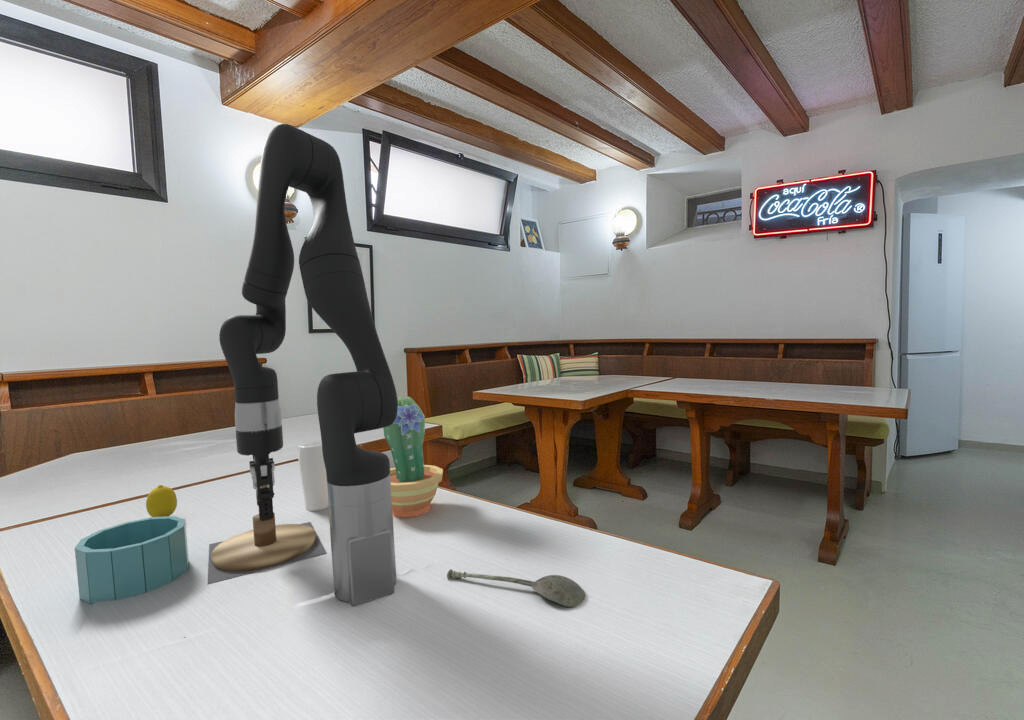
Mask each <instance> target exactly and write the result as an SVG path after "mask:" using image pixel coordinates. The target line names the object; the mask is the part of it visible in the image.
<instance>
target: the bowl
mask: <svg viewBox="0 0 1024 720" xmlns="http://www.w3.org/2000/svg"><path fill="white" fill-rule="evenodd" d="M186 524H187V523H186V518H183V517H178V516H175V515H170V516H166V517H151V516H150V517H147V518H145V517H144V518H141V519H135V520H129V521H124V522H122V523H119V524H116V525H113V526H110V527H106V528H102V529H99V530H97V531H95V532H93V533H91V534H89V535H87V536H85V537H84V538H80V540H79V541H78V542H77V544H76V545H75V546H74V554H75V564H76V575H77V584H78V596H79V599H80V600H81V601H83V602H85V603H88V604H90V605H94V604H95V602H103V601H104V602H105V601H107V602H108V601H115V600H117V601H118V600H121V599H125V598H129V597H133V596H137V595H142V594H146V593H148V592H150V591H153V590H155V589H157V588H159V587H161V586H162V587H163V586H164V585H167V584H170V583H171V582H173V581H174V580H176V579H177V578H179V577H180V576H181V575H182V574H184V573H185V572H187V571H188V569H189V563H190V562H189V560H190V558H189V549H188V536H187V527H186V526H187V525H186Z"/></svg>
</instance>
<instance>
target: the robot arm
mask: <svg viewBox="0 0 1024 720" xmlns="http://www.w3.org/2000/svg"><path fill="white" fill-rule="evenodd" d="M259 167H260V168H259V175H258V177H259V178H258V179H259V180H258V189H257V198H256V199H257V200H256V211H255V225H254V226H255V227H254V235H253V239H252V240H253V241H252V246H251V251H250V256H249V258H248V263H247V266H246V271H245V275H244V279H243V283H242V287H241V295H242V297H243V298H244V300H245V301H247V302H249V303H251V304H254V305H256V306H255V308H256V309H255V310H256V312H255V315H254V314H253V315H252V314H251V315H249V314H238V315H237V314H236V315H235V314H234V315H232V316H228V317H227V318H226V319H225V320H224V321H223V322H222V324H221V326H220V329H219V333H218V334H219V339H218V340H219V344H220V348H221V351H222V353H223V357H224V358H225V361H226V364H227V367H228V369H229V372H230V374H231V377H232V380H233V389H234V390H233V391H234V402H235V405H234V407H235V408H234V425H235V426H234V427H235V441H236V452H237V453H238V454H239V455H240V456H252V460H249V462H248V463H249V472H250V473H249V474H250V475H251V481H252V488H253V489H254V490H255V494H256V496H255V497H256V505H257V506H258V514H259V519H260V521H266V520H271V519H272V518H273V513H274V506H273V505H274V504H273V499H274V497H275V492H274V486H275V474H274V473H275V472H274V471H275V469H276V467H275V460H274V457H270V454H271V453H275V452H278V451H280V450H282V448H284V436H283V434H284V433H283V423H282V410H281V408H282V407H281V405H280V399H279V386H278V385H279V384H278V383H279V382H278V374H277V372H276V370H275V369H273V368H272V367H267V366H262V365H261V363H260V361H259V358H258V356H257V355H263V354H264V355H265V354H271V353H273V352H275V351H276V350H278V349H279V348H280V346H281V345H282V344H283V341H284V340H285V337H286V333H287V332H286V331H287V330H286V327H287V322H286V321H287V318H286V315H287V314H286V313H287V311H286V309H287V308H286V297H287V295H288V292H289V291H288V290H289V288H290V284H291V281H292V277H293V273H294V269H295V254H294V253H295V252H294V248H293V244H292V240H291V236H290V233H289V229H288V225H287V220H286V210H285V208H286V205H285V204H286V199H287V194H288V190H289V187H290V188H293V189H295V190H298V191H301V192H304V193H306V195H307V196H308V197H309V199H310V202H311V206H312V211H313V224H312V227H311V228H310V231H309V232H308V234H307V236H306V238H305V240H304V241H303V244H302V247H301V248H300V252H299V255H298V265H299V266H298V267H299V270H300V277H301V280H302V286H303V289H304V294H305V297H306V300H307V301H308V304H309V305H310V307H311V308H312V310H313V311H314V312H315V313H316V314H317V315H318V316H319V317H320V319H322V321H323V322H324V323H325V324H326V325H327V326H328V327H329V328H330V329H331V330H332V332H334V333H335V334H336V336H338V338H340V340H341V341H342V342H343V344H344V345H345V346H346V348H347V349H348V353H350V356H351V358H352V361H353V363H354V367H355V369H356V371H349V372H348V371H346V372H338V373H331V374H327V375H325V376H323V378H322V379H321V380H320V382H319V384H318V386H317V393H316V406H317V416H318V417H317V418H318V424H319V431H320V438H321V441H322V452H323V459H324V464H325V468H326V476H327V490H328V507H327V508H328V516H329V517H328V519H329V522H328V523H329V532H330V533H329V536H330V550H331V563H332V576H333V578H332V579H333V580H332V581H333V592H334V595H335V597H336V598H337V599H339V600H341V601H343V602H348V603H350V604H351V605H352V606H356V605H359V604H362V603H365V602H369V601H373V600H375V599H379V598H382V597H383V596H384V597H385V596H387V595H391V594H394V593H395V586H396V585H397V582H398V581H397V566H396V565H397V563H396V550H395V548H396V547H395V535H394V516H393V514H392V498H391V479H390V469H391V464H390V462H391V461H390V459H389V458H390V457H388V455H387V454H386V453H383V452H380V451H377V450H367V449H364V448H361V447H359V446H358V445H357V442H356V438H355V434H359V433H364V432H368V431H374V430H379V429H383V428H385V427H388V426H390V425H391V424H392V423H393V422H394V421H395V419H396V416H397V412H398V400H397V399H398V394H397V389H396V385H395V382H394V379H393V376H392V373H391V369H390V366H389V363H388V360H387V358H386V355H385V353H384V350H383V347H382V344H381V342H380V341H381V340H380V338H379V335H378V332H377V328H376V325H375V321H374V318H373V314H372V310H371V306H370V302H369V298H368V293H367V288H366V282H365V278H364V275H363V271H362V266H361V262H360V258H359V255H358V252H357V248H356V245H355V240H354V236H353V231H352V225H351V221H350V216H349V211H348V205H347V197H346V189H345V182H344V174H343V168H342V163H341V160H340V156H339V154H338V152H337V151H336V149H335V147H334V146H333V145H331V144H330V143H329V142H327V141H325V140H324V139H321V138H319V137H316V136H314V135H313V134H310V133H308V132H306V131H304V130H303V129H300V128H298V127H296V126H293V125H291V124H288V123H281V124H278V125H276V126H274V127H273V128H272V129H271V131H270V132H269V133H268V135H267V136H266V140H265V141H264V145H263V149H262V153H261V160H260V166H259Z"/></svg>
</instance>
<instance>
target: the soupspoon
mask: <svg viewBox="0 0 1024 720" xmlns="http://www.w3.org/2000/svg"><path fill="white" fill-rule="evenodd" d="M446 578H447V580H451V579H454V580H456V579H461V578H463V579H466V578H474V579H482V580H491V581H496V582H497V581H498V582H506V583H512V584H513V583H514V584H518V585H522V586H527V587H531V588H532V589H533V591H534V592H536V593H537V594H539V595H540V596H542V597H543V598H545V599H547V600H548V601H552V602H554V603H557V604H559V605H562V606H563V607H568V608H576V607H579V606H580V605H581V604H583V602H584V601H585V599H586V594H585V593H586V592H585V591H584V589H583V588H582V587H581V586H580V585H579V584H578V583H577V582H576V581H574V580H573V579H571V578H568V577H566V576H563V575H559V574H552V575H551V574H550V575H545V576H543V577H541V578H538V579H536V580H535V581H532V580H527V579H523V578H516V577H511V576H510V577H509V576H501V575H500V576H499V575H489V574H480V573H479V574H478V573H468V572H466V571H464V572H461V571H456V570H453V569H451V568H450V569H449V570H448V571H447V573H446Z"/></svg>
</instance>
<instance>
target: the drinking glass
mask: <svg viewBox="0 0 1024 720" xmlns="http://www.w3.org/2000/svg"><path fill="white" fill-rule="evenodd" d="M297 456H298V457H297V459H298V466H299V472H300V473H299V474H300V478H301V485H302V491H303V492H302V493H303V496H304V505H305V506H304V508H305V510H306V511H310V512H314V511H315V512H316V511H317V512H318V511H321V510H325V509H327V508H329V507H328V490H327V476H326V468H325V464H324V459H323V452H322V441H321V440H311V441H306V442H302V443H299V444H298V446H297Z"/></svg>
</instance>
